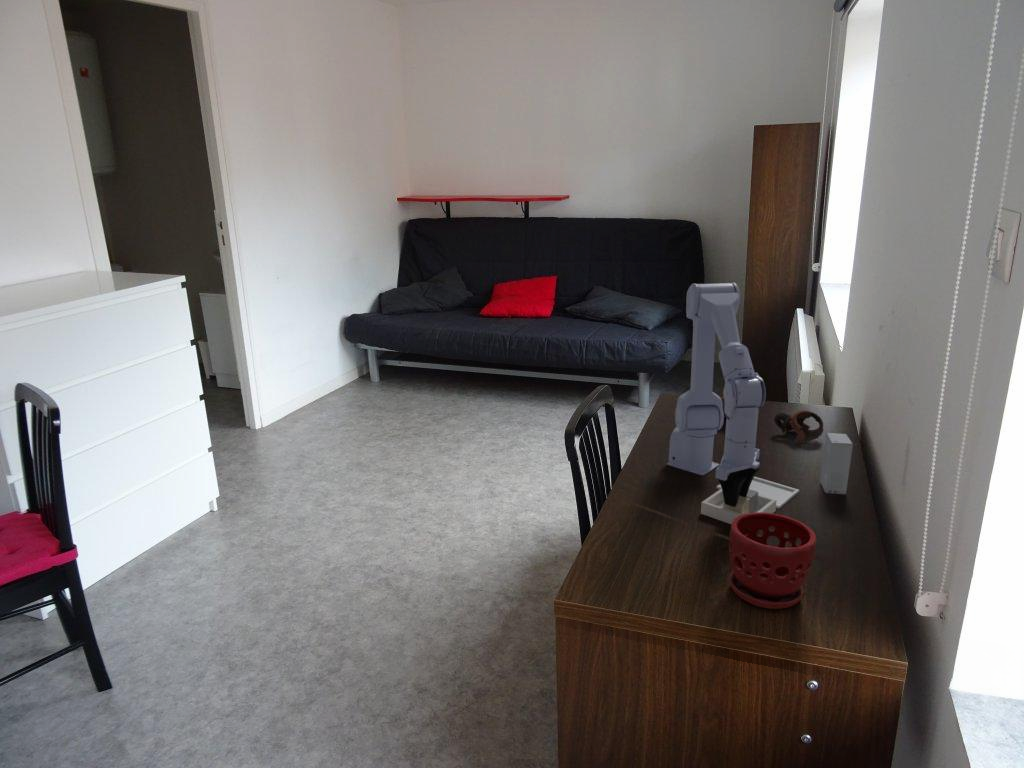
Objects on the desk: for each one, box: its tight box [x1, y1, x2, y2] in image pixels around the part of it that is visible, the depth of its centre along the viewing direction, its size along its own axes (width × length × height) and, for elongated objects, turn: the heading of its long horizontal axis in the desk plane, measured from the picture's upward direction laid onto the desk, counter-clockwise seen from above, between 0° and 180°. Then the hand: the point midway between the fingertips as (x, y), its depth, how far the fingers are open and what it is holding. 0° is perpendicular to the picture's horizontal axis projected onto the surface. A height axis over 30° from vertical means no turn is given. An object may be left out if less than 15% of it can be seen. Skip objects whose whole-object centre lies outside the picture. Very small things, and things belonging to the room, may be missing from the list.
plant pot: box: [728, 512, 817, 610], centre depth 118 cm, size 13×13×12 cm
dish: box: [700, 488, 777, 525], centre depth 145 cm, size 11×11×3 cm
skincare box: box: [819, 432, 854, 495], centre depth 154 cm, size 6×4×12 cm
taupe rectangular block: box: [723, 495, 750, 514], centre depth 143 cm, size 4×3×4 cm
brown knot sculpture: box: [773, 410, 824, 445], centre depth 183 cm, size 12×10×8 cm
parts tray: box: [716, 476, 800, 509], centre depth 154 cm, size 14×10×1 cm
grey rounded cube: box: [746, 489, 758, 513], centre depth 146 cm, size 4×3×4 cm
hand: (735, 501), depth 143 cm, fingers closed on taupe rectangular block, 3 cm apart
